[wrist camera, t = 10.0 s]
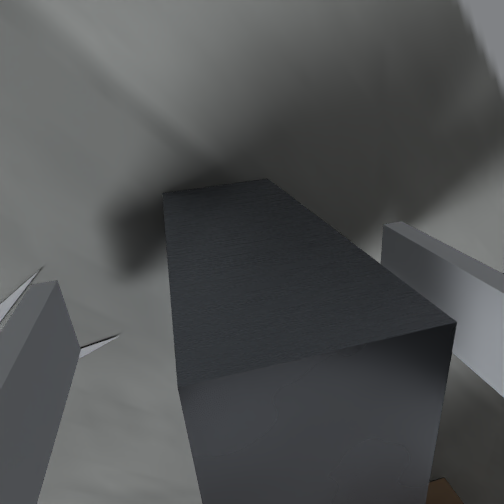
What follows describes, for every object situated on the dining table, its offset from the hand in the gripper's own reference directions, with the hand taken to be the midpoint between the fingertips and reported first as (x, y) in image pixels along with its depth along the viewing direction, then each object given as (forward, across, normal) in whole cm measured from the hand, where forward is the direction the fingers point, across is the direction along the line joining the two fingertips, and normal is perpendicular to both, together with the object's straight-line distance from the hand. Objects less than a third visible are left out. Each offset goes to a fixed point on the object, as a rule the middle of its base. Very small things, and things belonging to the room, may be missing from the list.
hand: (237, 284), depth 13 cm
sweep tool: (+2, 0, -11) cm, 12 cm away
